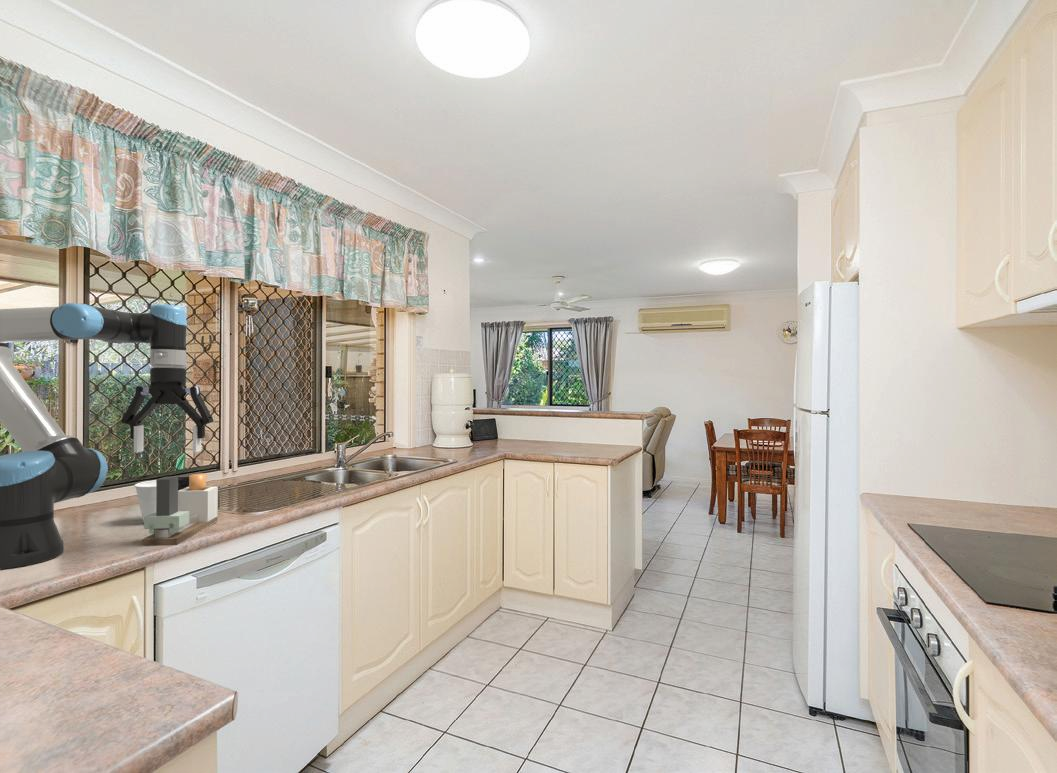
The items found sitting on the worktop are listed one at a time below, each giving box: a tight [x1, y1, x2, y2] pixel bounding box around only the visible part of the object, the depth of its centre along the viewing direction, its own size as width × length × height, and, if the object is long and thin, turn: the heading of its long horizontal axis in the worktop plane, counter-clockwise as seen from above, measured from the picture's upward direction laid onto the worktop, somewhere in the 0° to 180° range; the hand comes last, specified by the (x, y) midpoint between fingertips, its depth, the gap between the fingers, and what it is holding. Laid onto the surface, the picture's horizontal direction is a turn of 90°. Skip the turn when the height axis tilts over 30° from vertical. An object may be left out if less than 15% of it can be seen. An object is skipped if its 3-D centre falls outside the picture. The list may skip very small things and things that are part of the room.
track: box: [141, 515, 218, 546], centre depth 142 cm, size 8×22×4 cm, turn 7°
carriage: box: [143, 476, 189, 535], centre depth 134 cm, size 8×5×13 cm, turn 97°
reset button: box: [188, 473, 207, 491], centre depth 150 cm, size 4×4×5 cm
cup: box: [134, 479, 157, 523], centre depth 152 cm, size 10×10×11 cm
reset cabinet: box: [178, 486, 219, 522], centre depth 150 cm, size 8×6×8 cm
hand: (168, 451), depth 134 cm, fingers open, 13 cm apart
